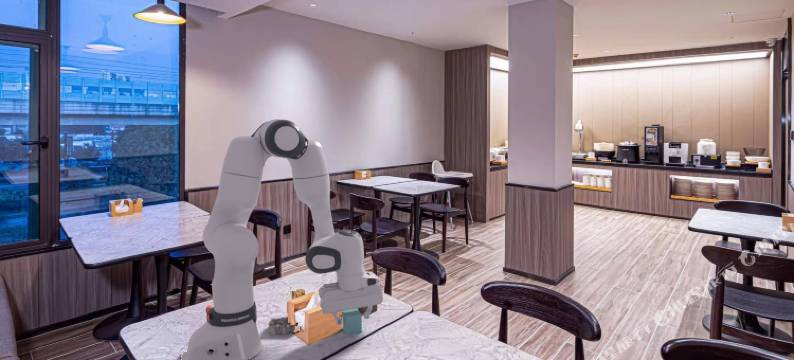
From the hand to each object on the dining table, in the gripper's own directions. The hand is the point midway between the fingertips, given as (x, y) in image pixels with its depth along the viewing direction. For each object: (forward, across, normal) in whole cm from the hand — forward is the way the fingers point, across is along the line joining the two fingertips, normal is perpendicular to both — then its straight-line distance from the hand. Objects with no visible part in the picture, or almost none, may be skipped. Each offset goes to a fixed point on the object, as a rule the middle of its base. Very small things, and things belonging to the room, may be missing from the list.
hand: (352, 320), depth 142 cm
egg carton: (+3, -20, +8) cm, 22 cm away
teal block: (+3, 0, -1) cm, 3 cm away
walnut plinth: (+3, +7, +15) cm, 17 cm away
